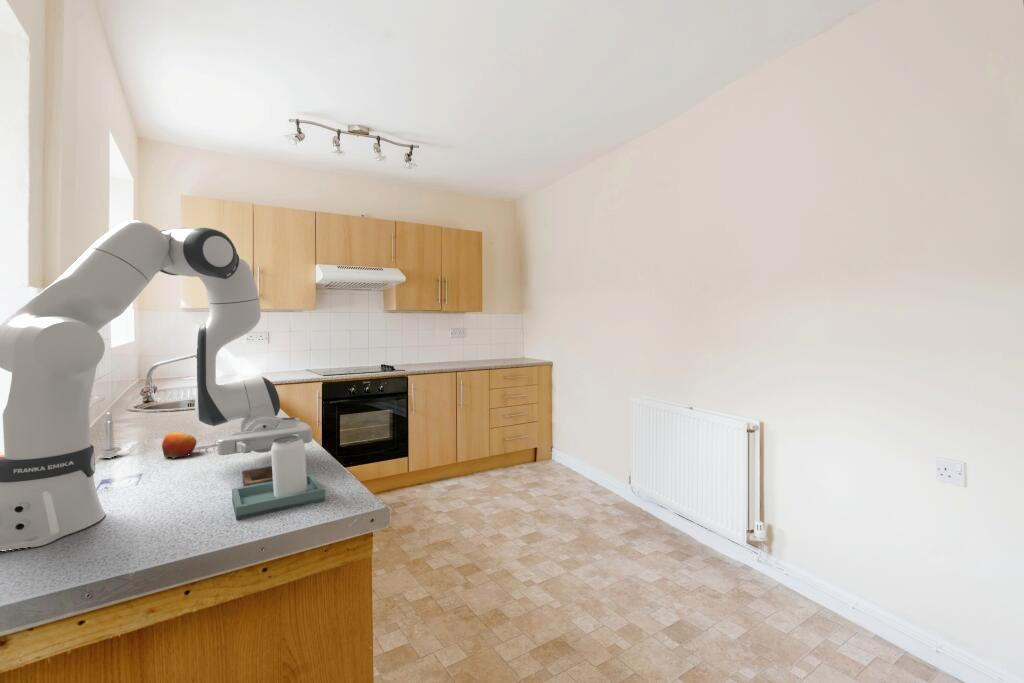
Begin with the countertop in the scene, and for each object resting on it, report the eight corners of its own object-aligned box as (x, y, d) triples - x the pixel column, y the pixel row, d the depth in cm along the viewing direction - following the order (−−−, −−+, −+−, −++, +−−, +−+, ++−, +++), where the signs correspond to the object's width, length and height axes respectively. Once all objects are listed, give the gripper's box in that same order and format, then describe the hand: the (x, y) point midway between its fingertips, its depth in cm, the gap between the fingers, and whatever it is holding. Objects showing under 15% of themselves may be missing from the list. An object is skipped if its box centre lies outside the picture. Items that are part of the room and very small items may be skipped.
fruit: (147, 456, 123) (161, 428, 127) (171, 463, 130) (184, 436, 134) (170, 458, 121) (184, 429, 125) (194, 465, 128) (206, 438, 132)
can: (297, 499, 93) (293, 442, 93) (267, 500, 94) (263, 443, 93) (313, 487, 100) (309, 434, 99) (285, 488, 100) (281, 435, 99)
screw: (120, 458, 127) (97, 461, 124) (122, 454, 130) (100, 457, 128) (118, 412, 126) (95, 414, 123) (120, 409, 130) (98, 411, 127)
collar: (246, 494, 99) (246, 483, 99) (242, 481, 107) (242, 471, 107) (298, 484, 105) (298, 474, 105) (290, 472, 113) (290, 463, 113)
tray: (236, 520, 86) (236, 507, 86) (232, 500, 96) (231, 488, 95) (325, 500, 95) (324, 489, 95) (312, 484, 105) (312, 473, 105)
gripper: (214, 427, 109) (216, 439, 97) (305, 416, 121) (316, 426, 109) (215, 453, 109) (217, 468, 98) (306, 440, 121) (317, 452, 109)
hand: (270, 446), depth 104 cm, fingers open, 8 cm apart
